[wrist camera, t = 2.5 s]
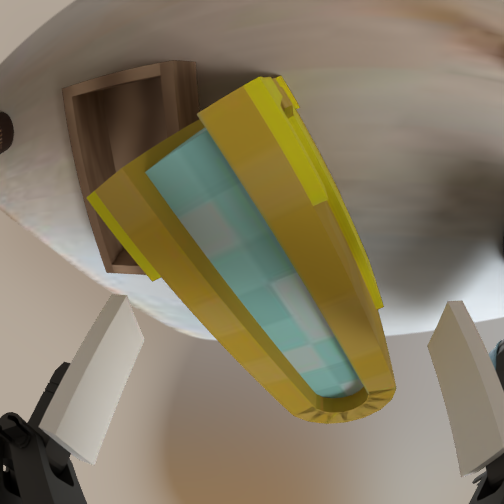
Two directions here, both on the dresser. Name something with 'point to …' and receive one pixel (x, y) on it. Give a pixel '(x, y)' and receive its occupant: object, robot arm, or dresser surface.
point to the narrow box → (125, 132)
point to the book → (260, 251)
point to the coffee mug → (5, 132)
